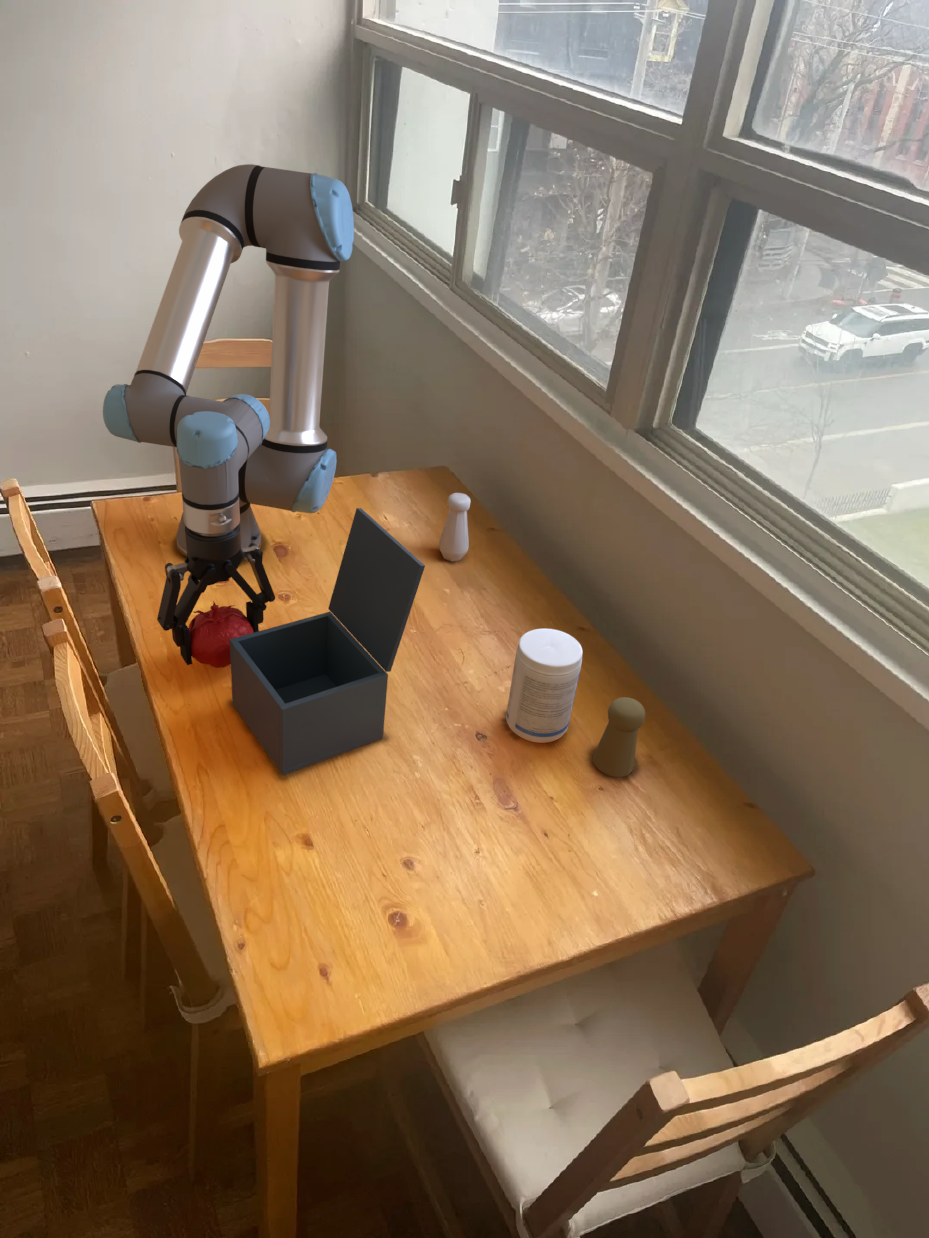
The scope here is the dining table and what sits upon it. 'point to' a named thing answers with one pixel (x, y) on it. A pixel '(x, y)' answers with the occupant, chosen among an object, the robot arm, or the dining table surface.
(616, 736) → the olive brown pawn
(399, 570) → the lid
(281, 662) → the box
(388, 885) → the dining table surface
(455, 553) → the salt shaker
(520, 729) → the supplement tub
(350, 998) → the dining table surface
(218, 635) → the red tomato
